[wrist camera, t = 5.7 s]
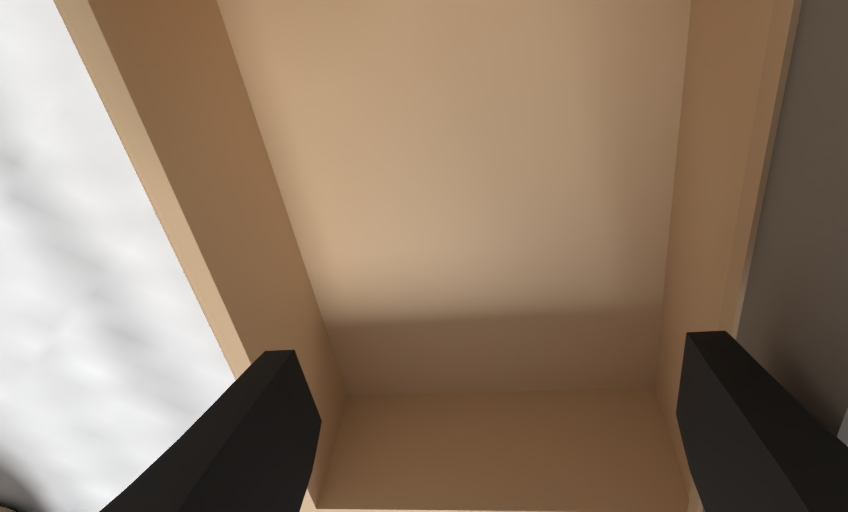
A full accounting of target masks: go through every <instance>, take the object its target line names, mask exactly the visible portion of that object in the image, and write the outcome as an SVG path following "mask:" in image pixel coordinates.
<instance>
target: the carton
mask: <svg viewBox="0 0 848 512" xmlns="http://www.w3.org/2000/svg"><path fill="white" fill-rule="evenodd" d="M54 3H55V5H56V7H57V9H58V11H59V13H60V15H61V17H62V19H63V21H64V23H65V25H66V28H67V30H68V32H69V34H70V36H71V38H72V40H73V42H74V44H75V46H76V48H77V50H78V52H79V55H80V57H81V59H82V61H83V63H84V65H85V67H86V69H87V71H88V73H89V75H90V77H91V80H92V82H93V84H94V86H95V88H96V90H97V92H98V94H99V96H100V98H101V100H102V102H103V105H104V107H105V109H106V111H107V113H108V115H109V117H110V119H111V121H112V123H113V125H114V127H115V129H116V132H117V134H118V136H119V138H120V140H121V142H122V144H123V146H124V148H125V150H126V152H127V154H128V157H129V159H130V161H131V163H132V165H133V167H134V169H135V171H136V173H137V175H138V177H139V179H140V182H141V184H142V186H143V188H144V190H145V192H146V194H147V196H148V198H149V200H150V202H151V204H152V206H153V209H154V211H155V213H156V215H157V217H158V219H159V221H160V223H161V225H162V227H163V229H164V231H165V234H166V236H167V238H168V240H169V242H170V244H171V246H172V248H173V250H174V252H175V254H176V256H177V259H178V261H179V263H180V265H181V267H182V269H183V271H184V273H185V275H186V277H187V279H188V281H189V283H190V286H191V288H192V290H193V292H194V294H195V296H196V298H197V300H198V302H199V304H200V306H201V308H202V311H203V313H204V315H205V317H206V319H207V321H208V323H209V325H210V327H211V329H212V331H213V333H214V336H215V338H216V340H217V342H218V344H219V346H220V348H221V350H222V352H223V354H224V356H225V358H226V360H227V363H228V365H229V367H230V369H231V371H232V373H233V375H234V377H235V379H236V380H237V379H238V378H239V377H240V376H241V375H242V374H243V373H244V371H245V370H246V369H247V368H248V367H249V366H250V365H251V364H252V363H253V362H254V361H255V360H256V359H257V358H258V357H259V356H260V355H261V354H262V353H263V352H264V351H274V350H295V352H296V355H297V357H298V360H299V363H300V365H301V368H302V370H303V373H304V376H305V378H306V381H307V383H308V386H309V389H310V391H311V394H312V397H313V399H314V402H315V404H316V407H317V410H318V412H319V415H320V417H321V420H322V423H321V429H320V435H319V440H318V446H317V451H316V456H315V461H314V465H313V470H312V474H311V477H310V480H309V484H308V487H307V490H306V493H305V496H304V499H303V502H302V506H301V509H300V512H687V509H688V503H689V497H690V491H691V485H692V479H693V478H692V475H691V473H690V469H689V466H688V462H687V458H686V454H685V450H684V446H683V442H682V438H681V434H680V430H679V426H678V421H677V417H676V408H677V400H678V393H679V385H680V377H681V370H682V362H683V354H684V346H685V339H686V332H703V331H718V327H719V321H720V315H721V309H722V303H723V297H724V292H725V286H726V280H727V274H728V268H729V262H730V256H731V250H732V245H733V239H734V233H735V227H736V221H737V215H738V209H739V204H740V198H741V192H742V186H743V180H744V174H745V168H746V162H747V157H748V151H749V145H750V139H751V133H752V127H753V121H754V115H755V110H756V104H757V98H758V92H759V86H760V80H761V74H762V69H763V63H764V57H765V51H766V45H767V39H768V33H769V27H770V22H771V16H772V10H773V4H774V0H54Z"/></svg>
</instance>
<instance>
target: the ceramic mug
mask: <svg viewBox="0 0 848 512" xmlns="http://www.w3.org/2000/svg"><path fill="white" fill-rule="evenodd" d="M0 512H16V511H13V510H11V509H9V508H6V507H1V506H0Z"/></svg>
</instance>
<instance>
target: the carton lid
mask: <svg viewBox="0 0 848 512" xmlns="http://www.w3.org/2000/svg"><path fill="white" fill-rule="evenodd" d="M718 331H726V332H727V333H729V334H730V335H731V336H732V337H733V338H734V339H735V340H736V341H737V342H738V343H739V344H740V345H741V346H742V347H743V348H744V349H745V350H746V351H747V352H748V353H749V354H750V355H751V356H752V357H753V358H754V359H755V360H756V361H757V362H758V363H759V364H760V365H761V366H762V367H763V368H764V369H765V370H766V371H767V372H768V373H769V374H770V375H771V376H772V377H773V378H774V379H775V380H776V381H778V382H779V383H780V384H781V385H782V386H783V387H784V388H785V389H786V390H787V391H788V392H789V393H790V394H791V395H792V396H793V397H794V398H795V399H796V400H797V401H798V402H799V403H800V404H802V405H803V406H804V407H805V408H806V409H807V410H808V411H809V412H810V413H811V414H812V415H814V416H815V417H816V418H817V419H818V420H819V421H820V422H821V423H822V424H823V425H825V426H826V427H827V428H828V429H829V430H830V431H831V432H832V433H833V434H834V435H836V436H837V437H838V438H839V439H840V440H841V441H842V442H843V443H844V444H846V445H847V446H848V0H774V4H773V10H772V16H771V22H770V27H769V33H768V39H767V45H766V51H765V57H764V63H763V69H762V74H761V80H760V86H759V92H758V98H757V104H756V110H755V115H754V121H753V127H752V133H751V139H750V145H749V151H748V157H747V162H746V168H745V174H744V180H743V186H742V192H741V198H740V204H739V209H738V215H737V221H736V227H735V233H734V239H733V245H732V250H731V256H730V262H729V268H728V274H727V280H726V286H725V292H724V297H723V303H722V309H721V315H720V321H719V327H718ZM687 512H705V510H704V508H703V505H702V502H701V500H700V497H699V494H698V492H697V489H696V486H695V484H694V481H693V479H692V485H691V491H690V497H689V503H688V509H687Z"/></svg>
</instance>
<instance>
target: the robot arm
mask: <svg viewBox="0 0 848 512" xmlns="http://www.w3.org/2000/svg"><path fill="white" fill-rule="evenodd" d="M676 417H677V421H678V426H679V430H680V434H681V438H682V442H683V446H684V450H685V454H686V458H687V462H688V466H689V469H690V473H691V475H692V478H693V481H694V484H695V486H696V489H697V492H698V494H699V497H700V500H701V502H702V505H703V508H704V510H705V512H848V446H847V445H846V444H844V443H843V442H842V441H841V440H840V439H839V438H838V437H837V436H836V435H834V434H833V433H832V432H831V431H830V430H829V429H828V428H827V427H826V426H825V425H823V424H822V423H821V422H820V421H819V420H818V419H817V418H816V417H815V416H814V415H812V414H811V413H810V412H809V411H808V410H807V409H806V408H805V407H804V406H803V405H802V404H800V403H799V402H798V401H797V400H796V399H795V398H794V397H793V396H792V395H791V394H790V393H789V392H788V391H787V390H786V389H785V388H784V387H783V386H782V385H781V384H780V383H779V382H778V381H776V380H775V379H774V378H773V377H772V376H771V375H770V374H769V373H768V372H767V371H766V370H765V369H764V368H763V367H762V366H761V365H760V364H759V363H758V362H757V361H756V360H755V359H754V358H753V357H752V356H751V355H750V354H749V353H748V352H747V351H746V350H745V349H744V348H743V347H742V346H741V345H740V344H739V343H738V342H737V341H736V340H735V339H734V338H733V337H732V336H731V335H730V334H729V333H727V332H726V331H703V332H686V339H685V346H684V354H683V362H682V370H681V377H680V385H679V393H678V400H677V408H676ZM321 423H322V420H321V417H320V415H319V412H318V410H317V407H316V404H315V402H314V399H313V397H312V394H311V391H310V389H309V386H308V383H307V381H306V378H305V376H304V373H303V370H302V368H301V365H300V363H299V360H298V357H297V355H296V352H295V350H274V351H264V352H263V353H262V354H261V355H260V356H259V357H258V358H257V359H256V360H255V361H254V362H253V363H252V364H251V365H250V366H249V367H248V368H247V369H246V370H245V371H244V373H243V374H242V375H241V376H240V377H239V378H238V379H237V380H236V381H235V382H234V383H233V384H232V385H231V386H230V387H229V388H228V389H227V390H226V391H225V392H224V393H223V394H222V395H221V397H220V398H219V399H218V400H217V401H216V402H215V403H214V404H213V405H212V406H211V407H210V408H209V409H208V410H207V411H206V412H205V413H204V414H203V415H202V416H201V417H200V418H199V419H198V420H197V421H196V422H195V423H194V424H193V425H192V426H191V427H190V428H189V429H188V430H187V431H186V432H185V433H184V434H183V435H182V436H181V437H180V438H179V439H178V440H177V441H176V442H175V443H174V444H173V445H172V446H171V447H170V448H169V449H168V450H167V451H166V452H165V453H163V454H162V455H161V456H160V457H159V458H158V459H157V460H156V461H155V462H154V463H153V464H152V465H151V466H150V467H149V468H148V469H147V470H145V471H144V472H143V473H142V474H141V475H140V476H139V477H138V478H137V479H136V480H135V481H134V482H133V483H132V484H131V485H129V486H128V487H127V488H126V489H125V490H124V491H123V492H122V493H120V494H119V495H118V496H117V497H116V498H115V499H114V500H112V501H111V502H110V503H109V504H108V505H107V506H105V507H104V508H103V509H102V510H101V511H100V512H300V509H301V506H302V502H303V499H304V496H305V493H306V490H307V487H308V484H309V480H310V477H311V474H312V470H313V465H314V461H315V456H316V451H317V446H318V440H319V435H320V429H321Z"/></svg>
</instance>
